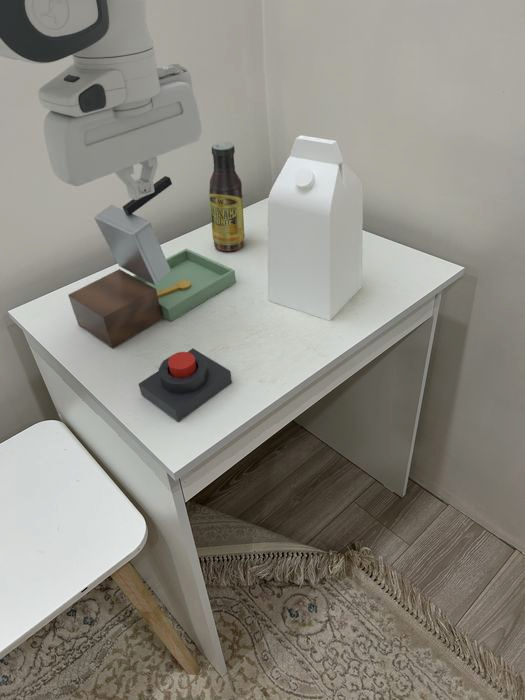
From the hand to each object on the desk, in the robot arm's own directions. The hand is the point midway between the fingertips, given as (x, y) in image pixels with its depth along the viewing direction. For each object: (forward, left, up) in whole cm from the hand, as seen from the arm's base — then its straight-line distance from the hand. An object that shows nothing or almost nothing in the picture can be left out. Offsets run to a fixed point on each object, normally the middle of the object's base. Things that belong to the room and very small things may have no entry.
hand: (142, 195), depth 70 cm
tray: (+11, +11, -24) cm, 29 cm away
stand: (-2, +11, -24) cm, 27 cm away
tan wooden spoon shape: (+9, +11, -23) cm, 27 cm away
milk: (+24, -9, -24) cm, 36 cm away
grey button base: (-6, -10, -24) cm, 27 cm away
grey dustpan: (+2, +11, -12) cm, 16 cm away
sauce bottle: (+27, +15, -24) cm, 40 cm away
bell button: (-6, -10, -20) cm, 23 cm away
